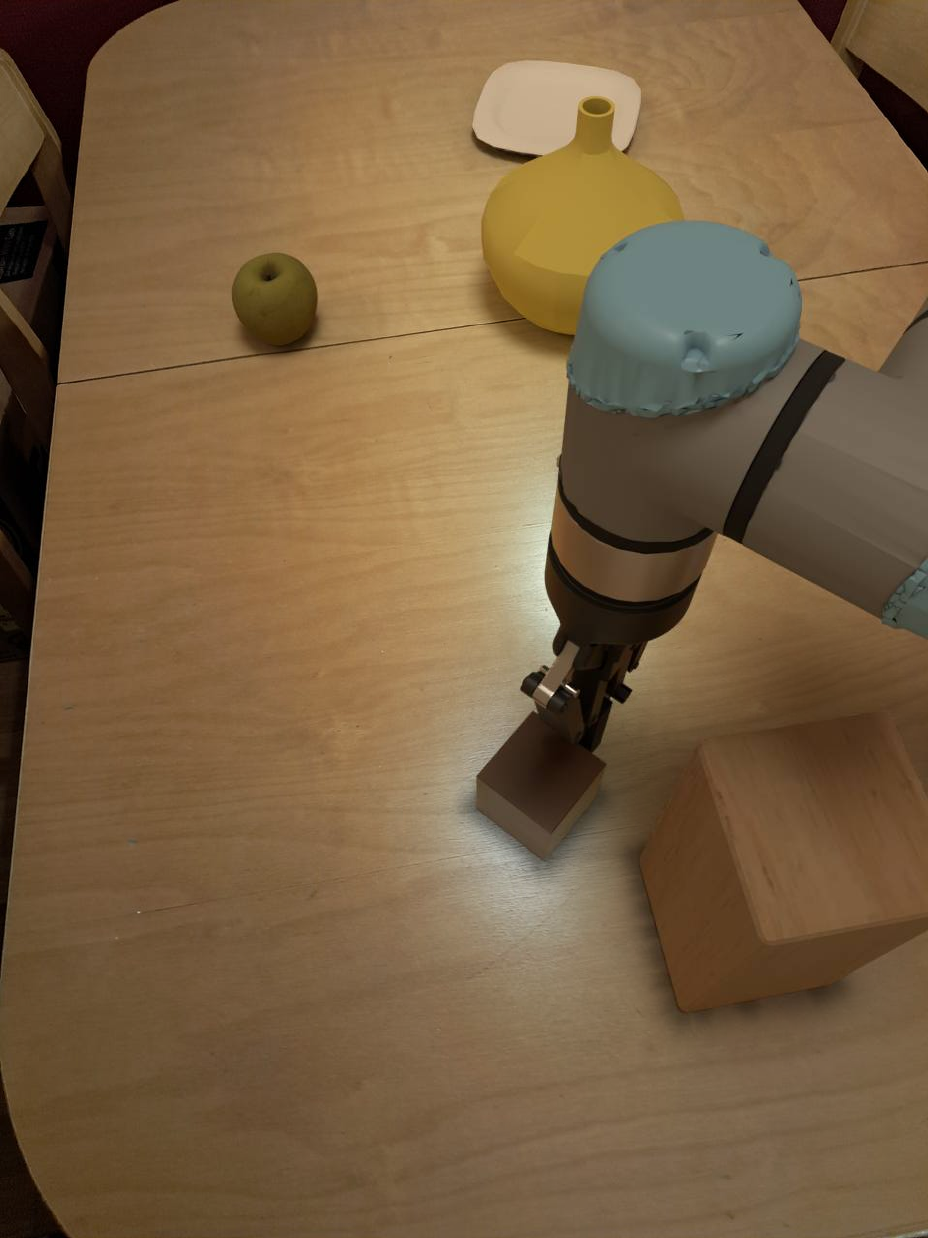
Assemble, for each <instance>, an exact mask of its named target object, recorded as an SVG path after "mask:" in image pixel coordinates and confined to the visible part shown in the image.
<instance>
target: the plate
mask: <svg viewBox="0 0 928 1238" xmlns="http://www.w3.org/2000/svg"><path fill="white" fill-rule="evenodd" d="M590 96H601V97H605V98H608V99H610V100H611V101H612V102H613V103H614V105H615V111H614V119H613V127H612V134H611V136H612V143H613V144H614V145H615V147H616V148H617V149H618V150H620V151H621V152H623V153H624V151H625V150H627V149H628V147H629V145H630V144H631V141H632V139H633V136H634V134H635V131H636V127H637V123H638V119H639V115H640V110H641V105H642V90H641V88H640V86H639V85H638V83H637V82H636V81H635V79H634V78H633V77H631V76H628V75H627V74H624V73H622V72H620V71H617V70H613V69H610V68H609V69H608V68H603V67H599V66H594V65H593V66H592V65H586V64H585V65H584V64H579V63H578V64H577V63H571V62H570V63H569V62H562V61H560V62H559V61H551V60H534V59H533V60H532V59H523V60H518V61H511V62H506V63H504V64H502V65H501V66H500V67H498V68H497V69H495V70H494V71H492V73H491V74H490V76H489V77H488V78H487V81H486V82H485V83H484V86H483V88H482V90H481V92H480V95H479V97H478V100H477V103H476V106H475V109H474V112H473V116H472V122H471V129H472V130H473V133H474V135H475V138H476V140H478V141H479V142H482V143H483V144H485V145H486V146H488V147H491V148H493V149H495V150H498V151H503V152H508V153H512V154H515V155H516V154H517V155H522V156H531V157H536V158H538V157H541V156H544V155H546V154H549V153H551V152H553V151H555V150H558V149H560V148H562V147H564V146H566V145H568V144H569V143H570V142H571V141H572V140H573V139H574V137H575V133H576V124H577V114H578V105H579V102H580V101H581V100H582V99H584V98H586V97H590Z"/></svg>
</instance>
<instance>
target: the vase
mask: <svg viewBox="0 0 928 1238" xmlns="http://www.w3.org/2000/svg"><path fill="white" fill-rule="evenodd" d="M614 111H615V105H614V103H613V102H612V101H611V100H610V99H608V98H605V97H601V96H590V97H586V98H584V99H582V100H581V101H580V102H579V105H578V114H577V124H576V133H575V137H574V139H573V140H572V141H571V142H570V143H569V144H568V145H566V146H564V147H562V148H560V149H558V150H555V151H553V152H551V153H549V154H546V155H544V156H541V157H536V158H534V159H531V160H529V161H526V162H524V163H522V164H520V165H518V166H516V167H515V168H514V169H512V170H511V171H509V172H508V173H507V174H505V175H504V176H503V177H501V178H500V180H499V181H498V182H497V184H496V185H495V187H494V188H493V189H492V191H491V192H490V194H489V198H488V199H487V202H486V204H485V207H484V210H483V213H482V218H481V222H480V227H481V229H480V230H481V232H480V233H481V235H480V237H481V247H482V254H483V255H482V256H483V260H484V262H485V264H486V266H487V268H488V270H489V273H490V275H491V277H492V278H493V281H494V283H495V285H496V287H497V288H498V291H499V292H500V294H501V296H502V298H503V299H504V300H505V301H506V302H508V303H509V305H510V306H511V307H513V308H514V309H515V310H516V311H517V312H518V313H519V314H520V315H521V316H522V317H523V318H525V319H526V320H527V321H529V322H531V323H532V324H534V325H536V326H538V327H539V328H541V329H544V330H548V331H551V332H554V333H557V334H563V335H572V336H575V333H576V328H577V323H578V318H579V313H580V309H581V304H582V299H583V294H584V289H585V286H586V283H587V280H588V278H589V276H590V274H591V272H592V270H593V268H594V267H595V265H596V263H597V262H598V261H599V259H600V257H601V256H602V254H604V253H606V252H607V251H608V250H609V249H610V248H612V247H613V246H614V245H615V244H616V243H618V242H619V241H620V240H622V239H623V238H625V237H627V236H629V235H630V234H632V233H635V232H636V231H638V230H640V229H643V228H646V227H649V226H652V225H656V224H661V223H666V222H672V221H685V217H684V211H683V208H682V205H681V202H680V198H679V196H678V195H677V194H676V192H675V191H674V190H673V188H672V187H671V185H670V184H669V183H668V181H666V180H664V178H662V177H661V176H660V175H658V174H657V173H656V172H654V171H653V170H652V169H650V168H648V167H647V166H645V165H643V164H641V163H640V162H639V161H636V160H635V159H632V157H630V156H629V155H627V154H626V153H624V151H623V152H621V151H620V150H618V149H617V148H616V147H615V145H614V144H613V143H612V136H611V134H612V127H613V119H614Z"/></svg>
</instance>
